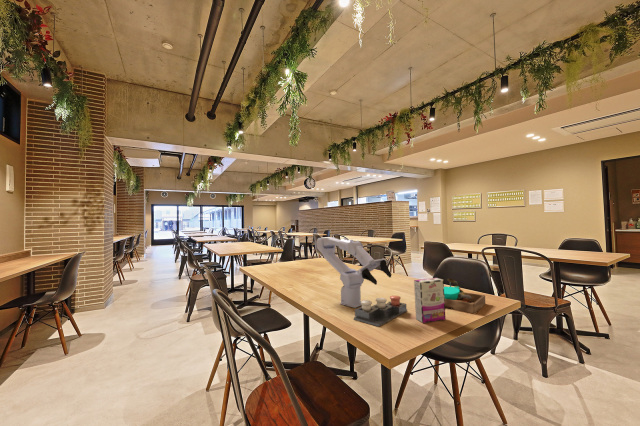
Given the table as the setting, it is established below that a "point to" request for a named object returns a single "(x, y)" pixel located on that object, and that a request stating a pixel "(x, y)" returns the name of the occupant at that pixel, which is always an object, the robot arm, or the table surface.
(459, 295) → the contraption on wooden base
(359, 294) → the robot arm
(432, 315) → the candy bar box
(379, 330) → the table surface
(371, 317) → the panel
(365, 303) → the cream mushroom knob
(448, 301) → the brown wooden tray
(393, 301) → the plug red
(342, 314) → the table surface
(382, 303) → the plug cream mid
